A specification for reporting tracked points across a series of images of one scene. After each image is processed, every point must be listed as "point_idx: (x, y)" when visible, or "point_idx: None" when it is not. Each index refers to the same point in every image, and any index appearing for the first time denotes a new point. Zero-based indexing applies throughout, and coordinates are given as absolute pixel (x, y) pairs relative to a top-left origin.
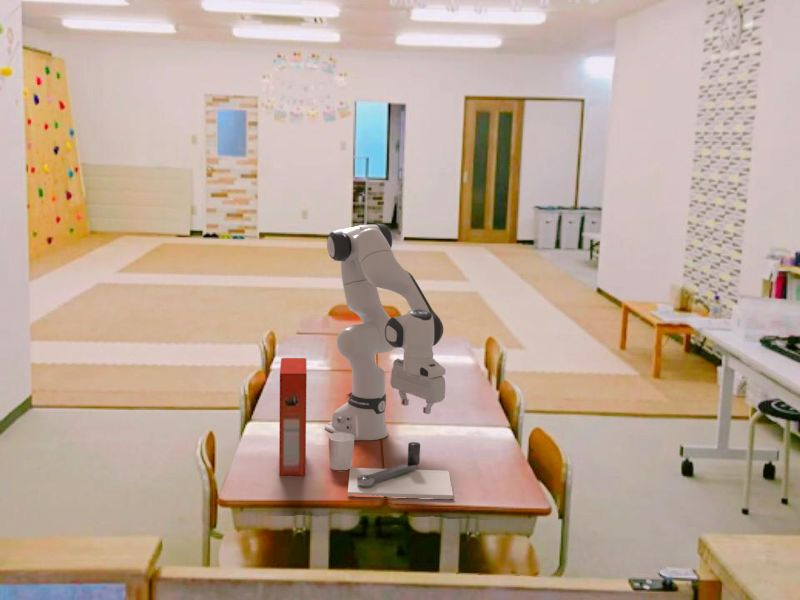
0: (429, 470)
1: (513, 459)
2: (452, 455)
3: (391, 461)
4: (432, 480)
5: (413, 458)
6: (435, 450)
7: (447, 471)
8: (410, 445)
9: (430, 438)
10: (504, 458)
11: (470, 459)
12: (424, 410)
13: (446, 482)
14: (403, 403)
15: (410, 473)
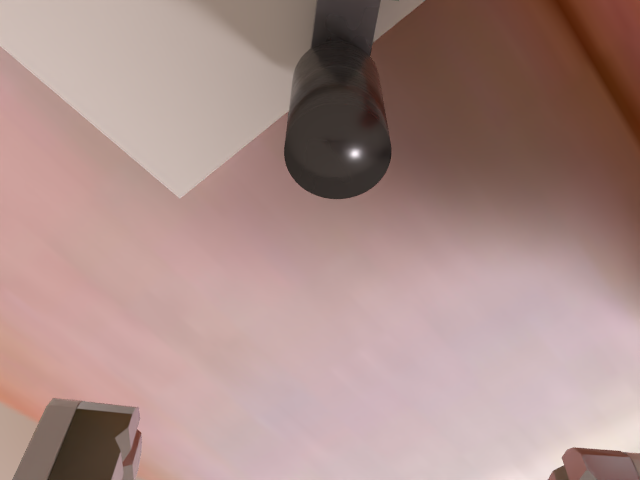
0: (256, 130)
1: None
2: (343, 363)
3: (564, 124)
4: (123, 12)
5: (308, 68)
6: (440, 360)
7: (175, 187)
8: (344, 108)
9: (533, 430)
10: (168, 447)
11: (254, 375)
12: (86, 440)
13: (45, 53)
14: (613, 473)
15: (311, 2)
